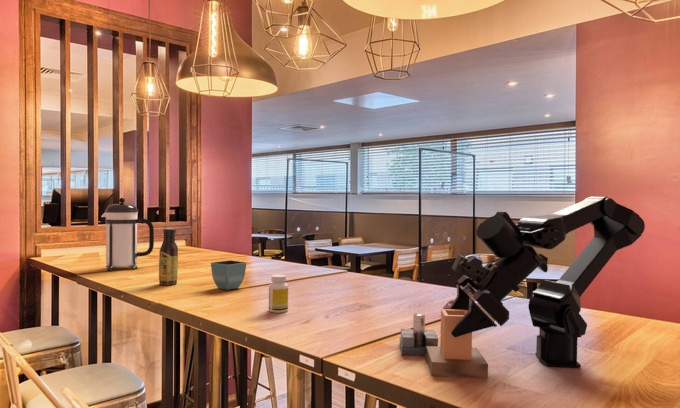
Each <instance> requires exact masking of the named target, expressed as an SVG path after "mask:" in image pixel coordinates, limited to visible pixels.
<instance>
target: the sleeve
mask: <svg viewBox="0 0 680 408" xmlns="http://www.w3.org/2000/svg"><path fill="white" fill-rule="evenodd" d="M466 313H467V310H452V309H443V308H441V309H440V342H439V343H440V350H441V353H442V355H443V357H444V359H465V360H472V348H473V347H472V346H473V345H472V344H473V332H471V333H468V334H465V335H462V336H458V337H454V336H453V335H452V334H451V332H452V330H453V329H454V328H455V326H456V325H457V324H458V323H459V321H460V320H461V319H462V318H463V316H464V315H465V314H466Z"/></svg>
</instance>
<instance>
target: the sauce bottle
mask: <svg viewBox="0 0 680 408" xmlns="http://www.w3.org/2000/svg"><path fill="white" fill-rule="evenodd" d="M162 230H163V241H162V244H161V245H160V246H161V247H160V249H159V254H158V255H159V257H158V258H159V259H158V261H159V262H158V263H159V264H158V284H159V285H161V286H173V285H177V284H178V283H177V282H178V275H179V274H178V273H179V271H178V270H179V269H178V268H179V248H178V244H177V243H176V242H175V241H176V239H175V238H176V235H175V234H176V232H177V231H176V230H177V229H176V228H174V227H166V228H163V229H162Z"/></svg>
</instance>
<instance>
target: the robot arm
mask: <svg viewBox="0 0 680 408" xmlns="http://www.w3.org/2000/svg"><path fill="white" fill-rule="evenodd" d="M589 224H590V225H591V226H593V234H594V235H593V237H592V239H591V240H590V242H588V243H587V245H586V246H585V247H584V248H583V250H582V251H581V252H580V253H579V254H578V256H577V257H575V259H574V261H572V263H571V264H570V265H569V267H567V269H566V270H565V272H564V273H563V274H562V275H561V276H560V278H559V279H557V280H556V281H551V280H546V279H544V280H542V281H541V282H540V284H539V285H538V286H537V288H536V289H535V290H533V291H532V292H531V294H532V296H531V297H530V298H529V301H528V312H529V316H530V318H531V325H532V327H535V328H538V329H539V331H538V333H539V334H537V335H536V348H535V350H536V352H535V356H536V357H537V358H538V359H539V360H540V361H541V362H542V363H543V364H544V365H545V366H546V367H547V366H548V367H567V368H568V367H569V368H581V366H582V365H581V363H580V362H578V338H582V336H585V334H586V331H587V327H588V323H587V322H586V321H585V319H584V318H583V316H582V315H581V314H580V313H581V309H582V307H581V306H582V305H581V296H582V295H583V294H584V293H585V292H586V290H587V289H588V288H589V286H590V285H591V284H592V282H593V281H594V280H595V279H596V278H597V276H598V275H599V273H601V271H602V270H603V268H605V266H606V265H607V264H608V262H610V260H611V258H612V257H613V256H614V255H615V253H616V252H618V251H620V250H622V249H624V248H626V247H629V246H632V245H633V244H634V243H635V242H637V240H639V238H641V237H642V235H643V233H644V231H645V227H646V226H645V221H644V219H643V218H642V217H641V216H640V215H639V214H638V213H637V212H635V210H633V209H631V208H628V207H627V206H624V205H622V204H619V203H618V202H616V201H615V200H614V199H613V198H610V197H608V196H588V197H586V198H584V200H581V201H579V202H576V203H574V204H572V205H569V206H568V207H565V208H562V209H560V210H558V211H556V212H553V213H551V214H542V215H540V214H539V215H533V216H525V217H522V218H520V219H519V221H518V222H517V224H516V223H515V222H514V221H513V220H512V218H511V216H510V215H509V213H508V212H507V211H500V210H499V211H497V212H495V214H494V215H492V216H489V217H488V218H486V219H485V220H483V221H482V222H481V223H480V224H478V226H477V229H476V236H477V238H478V239H479V240H480V241H481V243H483V244H484V245H485V246H486V248H487V249H488V250H490V252H491V253H492V254H493V255H494V257H496V258H499V259H498V260H496V261H495V262H494V263H493V262H488V263H487V264H485V265H483V261H482V260H481V259H480V258H477V257H475V256H471V257H470V258H468V257H466V256H463V255H461V254H460V253H458V254H457V256H456V258H455V260H454V263H453V265H452V267H451V270H453V272H454V273H456V274H459V275H460V276H461V277H460V278H459V279H457V281H456V282H458V283H457V284H456V297H455V298H454V299H455V300H454V299H453V300H454V302H453V304H452V305H451V307H450V309H452V310H467V313H466V314H465V315H464V316H463V318H462V319H461V320H460V321H459V323H458V324H457V325H456V326H455V328H454V329H453V330H452V332H451V334H452V335H453V336H454V337H458V336H462V335H465V334H468V333H471V332H472V333H473V332H478V331H481V330H485V329H488V328H489V329H490V328H492V327H494V328H496V327H497V326H498V325H499V326H500V327H503V325H504V324H505V323H507V322H508V321H509V320H510V311H509V310H508V309H507V308H506V306H505V305H504V303H503V302H502V301H503V300H504V299H505V298H506V297H508V296H509V294H510V293H512V291H513V292H514V293H517V292H518V291H520V287H519V285H520V284H521V283H522V282H523V281H524V280H526V278H528V277H529V276H530V274H532V273H533V272H534V271H535V270H536V269H537V268H538V270H540V271H542V272H543V273H548V272H549V271H548V269H549V268H548V267H549V266H548V261H549V258H548V257H547V256H545V255H544V254H542V253H538V252H537V251H536V249H544V250H554V249H555V248H556V247H558V246H559V245H560V244H561V243H563V242H564V241H565V240H566V237H567V234H569V233H571V232H574V231H575V230H577V229H579V228H581V227H584V226H586V225H589ZM495 322H496V323H497V324H498V325H497V324H496V323H495Z"/></svg>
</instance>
